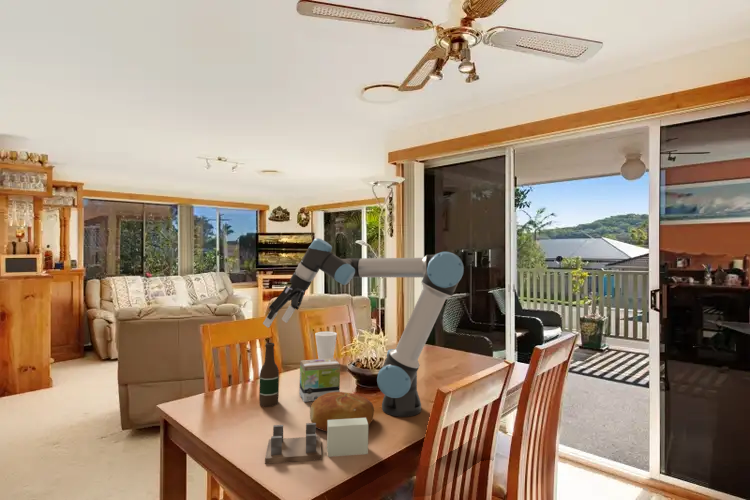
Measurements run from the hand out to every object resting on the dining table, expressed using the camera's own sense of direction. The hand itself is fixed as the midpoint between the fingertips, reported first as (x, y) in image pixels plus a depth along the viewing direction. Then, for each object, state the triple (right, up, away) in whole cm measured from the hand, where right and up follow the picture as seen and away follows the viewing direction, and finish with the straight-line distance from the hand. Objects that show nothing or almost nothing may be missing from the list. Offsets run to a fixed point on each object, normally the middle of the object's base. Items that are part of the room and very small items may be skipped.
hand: (275, 323), depth 156 cm
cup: (+11, -34, +66) cm, 75 cm away
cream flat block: (+30, -34, -31) cm, 54 cm away
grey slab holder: (+13, -33, -32) cm, 48 cm away
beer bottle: (-4, -33, +7) cm, 34 cm away
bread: (+26, -34, -10) cm, 44 cm away
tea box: (+15, -34, +15) cm, 40 cm away
